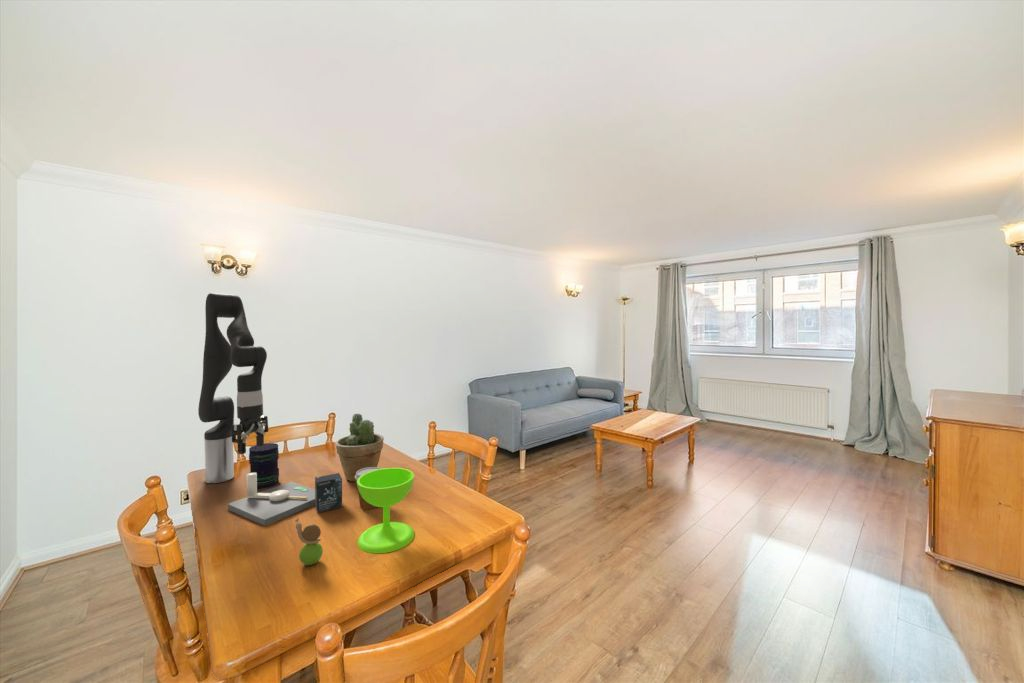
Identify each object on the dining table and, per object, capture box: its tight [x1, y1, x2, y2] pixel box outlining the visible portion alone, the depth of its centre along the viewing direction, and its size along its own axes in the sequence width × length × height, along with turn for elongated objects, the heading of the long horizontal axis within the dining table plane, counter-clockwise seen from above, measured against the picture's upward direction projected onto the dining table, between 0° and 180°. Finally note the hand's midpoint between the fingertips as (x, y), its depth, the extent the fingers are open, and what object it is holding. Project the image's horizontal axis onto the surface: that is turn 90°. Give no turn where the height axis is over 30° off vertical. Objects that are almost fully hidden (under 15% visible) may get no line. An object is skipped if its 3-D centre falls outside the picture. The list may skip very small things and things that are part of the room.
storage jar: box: [248, 442, 280, 491], centre depth 153 cm, size 10×10×15 cm
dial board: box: [227, 481, 315, 527], centre depth 137 cm, size 22×22×2 cm
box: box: [314, 472, 343, 514], centre depth 134 cm, size 8×6×11 cm
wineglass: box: [356, 467, 415, 554], centre depth 115 cm, size 16×16×18 cm
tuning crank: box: [246, 472, 307, 502], centre depth 136 cm, size 22×6×8 cm, turn 86°
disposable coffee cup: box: [355, 466, 383, 510], centre depth 136 cm, size 10×10×12 cm
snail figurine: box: [295, 517, 324, 566], centre depth 102 cm, size 5×6×12 cm
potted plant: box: [335, 413, 385, 483], centre depth 161 cm, size 18×19×25 cm
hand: (251, 449), depth 137 cm, fingers open, 8 cm apart
